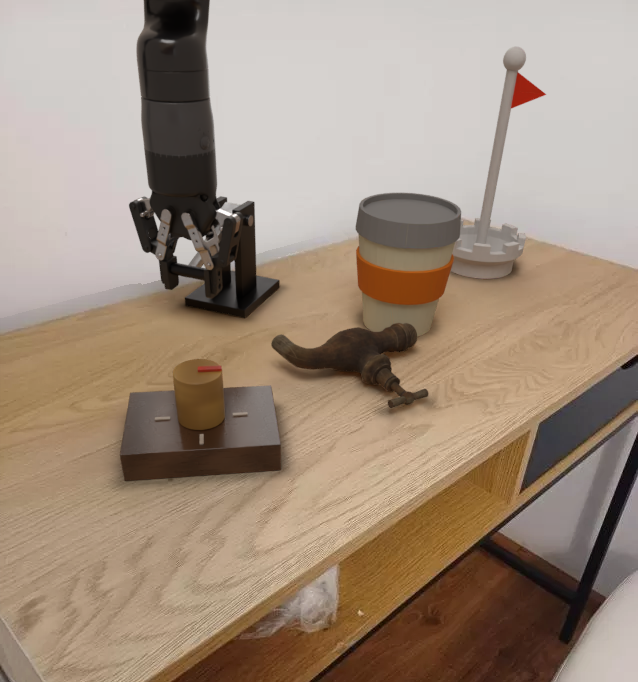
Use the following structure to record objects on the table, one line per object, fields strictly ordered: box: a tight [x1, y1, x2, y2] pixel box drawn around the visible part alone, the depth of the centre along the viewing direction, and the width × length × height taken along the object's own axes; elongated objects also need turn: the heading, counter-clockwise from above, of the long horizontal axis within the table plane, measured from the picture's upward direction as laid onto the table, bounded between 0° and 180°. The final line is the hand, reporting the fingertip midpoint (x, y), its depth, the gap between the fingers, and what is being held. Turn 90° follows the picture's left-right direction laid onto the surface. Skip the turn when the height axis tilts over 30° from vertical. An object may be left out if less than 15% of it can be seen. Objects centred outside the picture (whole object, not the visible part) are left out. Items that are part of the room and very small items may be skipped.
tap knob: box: [172, 358, 225, 430], centre depth 59 cm, size 4×4×5 cm
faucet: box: [270, 323, 429, 409], centre depth 72 cm, size 5×17×15 cm
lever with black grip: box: [170, 201, 241, 282], centre depth 80 cm, size 13×5×2 cm, turn 158°
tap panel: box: [119, 385, 282, 482], centre depth 61 cm, size 14×10×3 cm
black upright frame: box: [184, 195, 280, 319], centre depth 86 cm, size 11×9×13 cm
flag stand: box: [450, 46, 547, 280], centre depth 93 cm, size 13×13×30 cm
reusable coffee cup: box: [355, 192, 462, 338], centre depth 80 cm, size 13×13×15 cm
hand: (192, 290), depth 79 cm, fingers closed on lever with black grip, 5 cm apart
